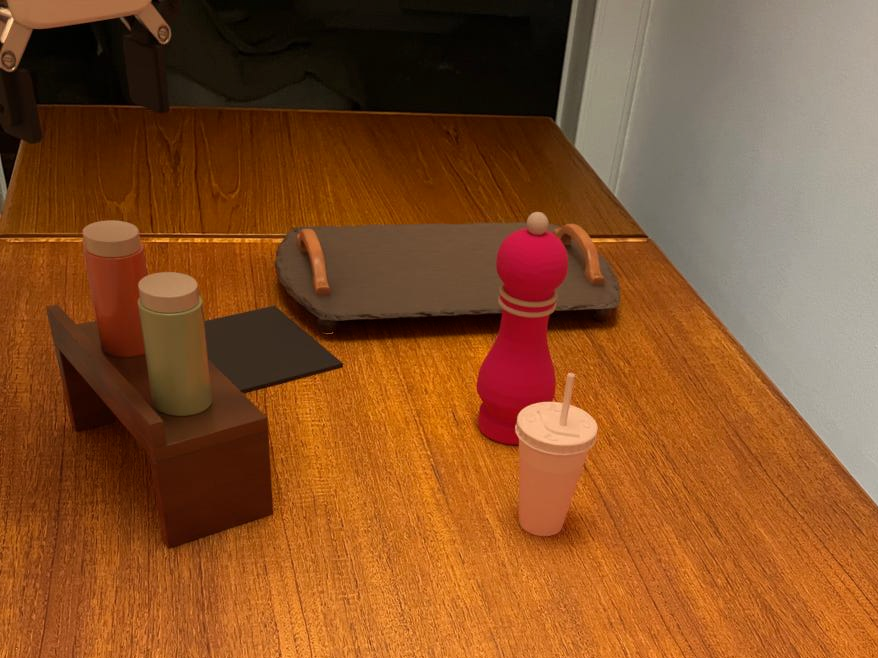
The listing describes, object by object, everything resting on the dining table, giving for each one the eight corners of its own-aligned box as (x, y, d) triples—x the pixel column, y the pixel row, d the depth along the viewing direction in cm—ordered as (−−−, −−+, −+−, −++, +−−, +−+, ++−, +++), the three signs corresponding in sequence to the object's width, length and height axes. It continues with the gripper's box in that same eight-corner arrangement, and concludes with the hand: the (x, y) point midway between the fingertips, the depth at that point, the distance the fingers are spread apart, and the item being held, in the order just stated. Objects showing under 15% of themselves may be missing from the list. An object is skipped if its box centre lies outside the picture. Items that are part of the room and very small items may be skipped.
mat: (213, 401, 93) (212, 397, 93) (149, 336, 101) (149, 333, 101) (343, 366, 100) (343, 363, 100) (274, 308, 108) (274, 305, 107)
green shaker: (167, 422, 74) (151, 303, 68) (142, 394, 76) (124, 277, 70) (222, 407, 76) (211, 290, 70) (196, 381, 78) (183, 266, 72)
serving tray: (293, 345, 102) (291, 286, 98) (263, 250, 118) (260, 196, 114) (641, 328, 112) (652, 274, 108) (571, 242, 128) (578, 193, 124)
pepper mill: (561, 424, 96) (598, 212, 82) (526, 457, 91) (558, 238, 78) (496, 399, 98) (521, 188, 85) (458, 430, 94) (477, 212, 80)
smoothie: (538, 555, 81) (564, 402, 71) (487, 515, 84) (505, 363, 75) (594, 529, 84) (626, 379, 75) (543, 491, 88) (567, 343, 78)
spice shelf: (273, 513, 82) (266, 393, 74) (168, 548, 77) (150, 424, 70) (168, 400, 93) (152, 285, 85) (71, 425, 88) (45, 306, 81)
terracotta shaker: (113, 362, 79) (93, 246, 73) (91, 338, 82) (70, 224, 75) (166, 349, 81) (151, 236, 75) (143, 327, 84) (127, 215, 78)
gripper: (120, -234, 59) (158, 84, 71) (-172, -244, 49) (-71, 133, 61) (208, -217, 57) (232, 112, 68) (-83, -224, 46) (4, 168, 58)
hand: (89, 121), depth 64 cm, fingers open, 9 cm apart
